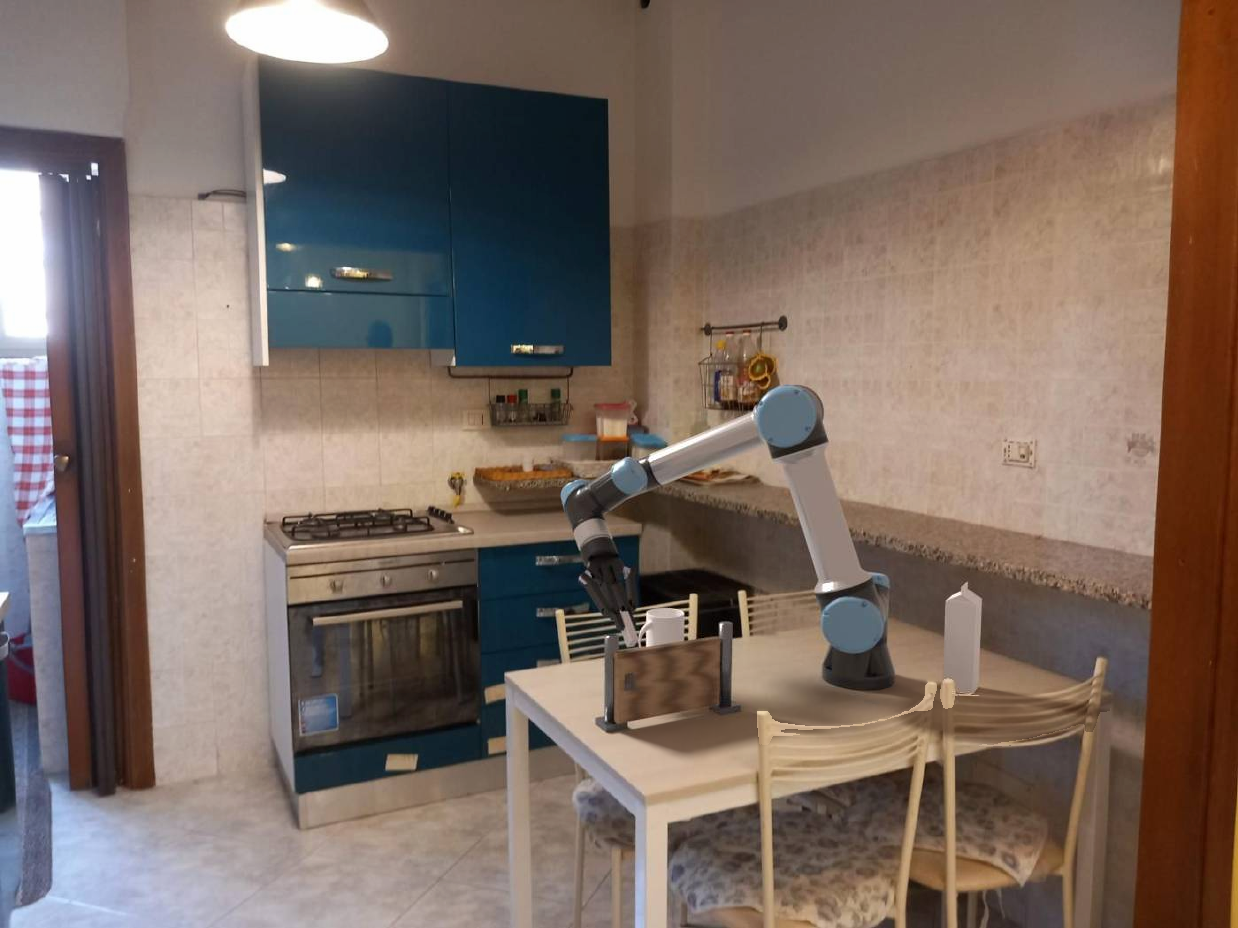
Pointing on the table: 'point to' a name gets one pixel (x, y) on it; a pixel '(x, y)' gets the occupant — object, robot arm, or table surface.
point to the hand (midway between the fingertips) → (632, 643)
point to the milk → (962, 640)
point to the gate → (666, 679)
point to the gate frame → (722, 708)
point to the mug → (663, 627)
